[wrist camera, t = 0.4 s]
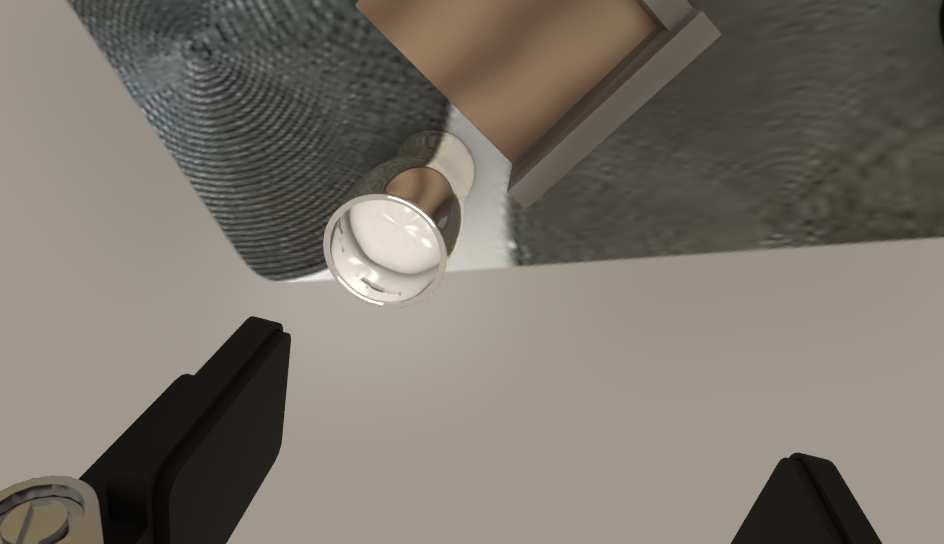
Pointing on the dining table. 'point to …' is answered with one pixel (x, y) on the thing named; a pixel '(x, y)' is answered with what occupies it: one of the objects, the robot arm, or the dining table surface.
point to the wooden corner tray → (544, 69)
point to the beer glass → (401, 222)
